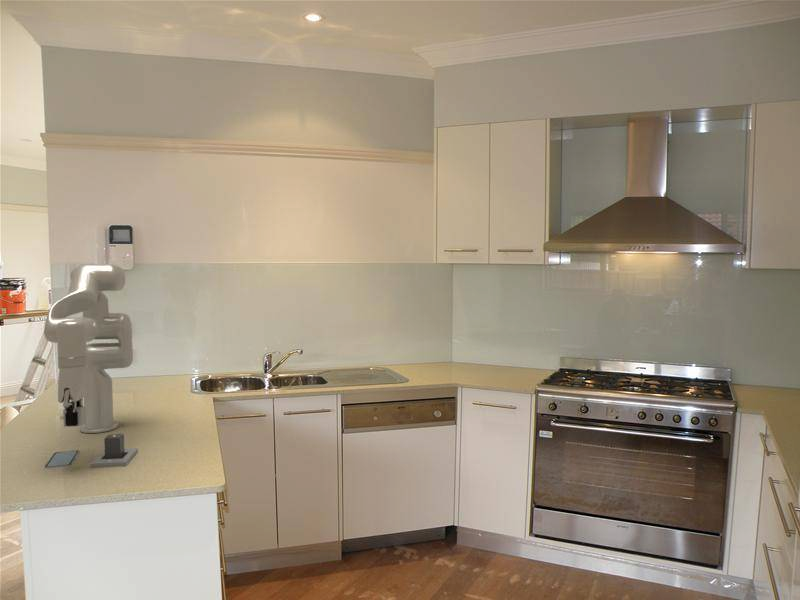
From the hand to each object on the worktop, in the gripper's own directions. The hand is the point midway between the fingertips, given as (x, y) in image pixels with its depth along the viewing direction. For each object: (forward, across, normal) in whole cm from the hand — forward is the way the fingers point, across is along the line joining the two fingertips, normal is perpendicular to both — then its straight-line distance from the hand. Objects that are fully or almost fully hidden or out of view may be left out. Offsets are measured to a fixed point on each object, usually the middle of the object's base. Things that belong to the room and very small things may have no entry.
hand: (74, 423), depth 183 cm
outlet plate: (+14, -7, +9) cm, 18 cm away
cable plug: (+1, 0, 0) cm, 1 cm away
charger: (+13, -7, +9) cm, 18 cm away
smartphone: (+14, -9, -7) cm, 18 cm away
